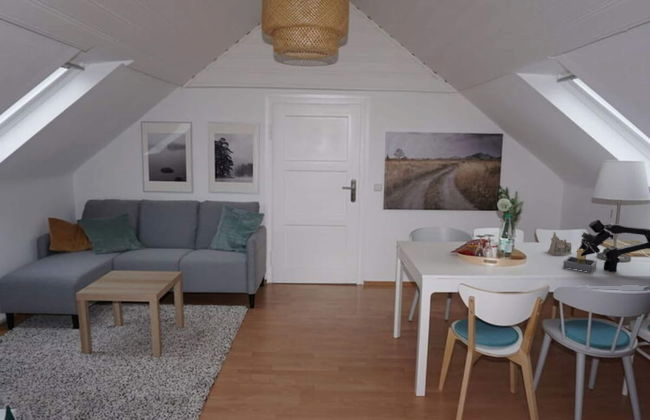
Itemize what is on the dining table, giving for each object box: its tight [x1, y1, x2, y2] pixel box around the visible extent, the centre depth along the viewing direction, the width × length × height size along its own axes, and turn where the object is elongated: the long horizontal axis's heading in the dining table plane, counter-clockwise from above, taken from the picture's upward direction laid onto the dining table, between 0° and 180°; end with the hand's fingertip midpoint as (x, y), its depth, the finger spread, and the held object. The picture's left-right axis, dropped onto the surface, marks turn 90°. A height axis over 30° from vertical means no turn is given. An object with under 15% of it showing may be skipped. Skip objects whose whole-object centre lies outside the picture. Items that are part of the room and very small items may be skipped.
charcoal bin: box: [562, 255, 598, 273], centre depth 297 cm, size 16×16×4 cm
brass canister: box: [575, 248, 587, 264], centre depth 297 cm, size 5×5×11 cm
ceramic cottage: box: [547, 231, 573, 257], centre depth 333 cm, size 16×16×15 cm
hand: (578, 253), depth 297 cm, fingers open, 8 cm apart
